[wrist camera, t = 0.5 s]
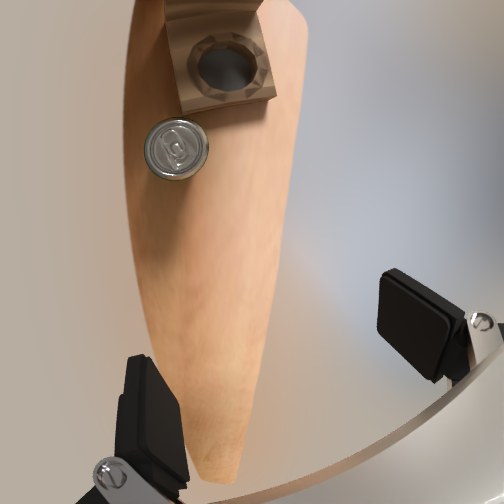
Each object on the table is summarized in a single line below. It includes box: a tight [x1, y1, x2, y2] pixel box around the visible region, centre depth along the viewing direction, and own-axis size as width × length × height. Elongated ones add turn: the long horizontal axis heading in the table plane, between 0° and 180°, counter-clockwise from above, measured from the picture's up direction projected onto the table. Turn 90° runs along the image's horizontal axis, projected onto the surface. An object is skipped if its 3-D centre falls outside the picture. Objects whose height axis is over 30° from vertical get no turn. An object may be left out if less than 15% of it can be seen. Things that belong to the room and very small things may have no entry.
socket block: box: [164, 0, 277, 116], centre depth 20 cm, size 14×10×12 cm
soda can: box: [144, 117, 209, 181], centre depth 23 cm, size 5×5×12 cm
